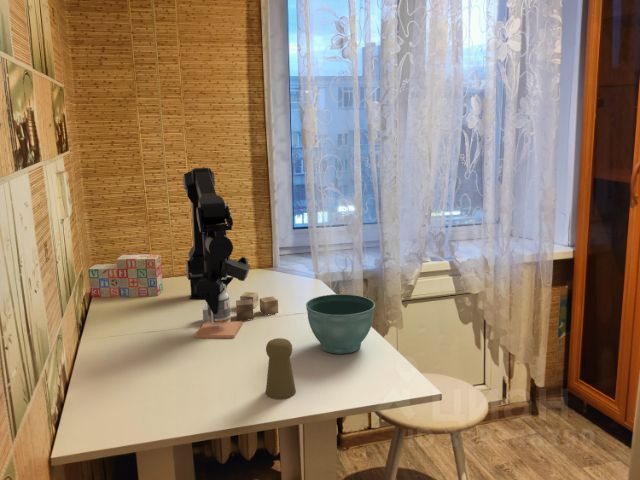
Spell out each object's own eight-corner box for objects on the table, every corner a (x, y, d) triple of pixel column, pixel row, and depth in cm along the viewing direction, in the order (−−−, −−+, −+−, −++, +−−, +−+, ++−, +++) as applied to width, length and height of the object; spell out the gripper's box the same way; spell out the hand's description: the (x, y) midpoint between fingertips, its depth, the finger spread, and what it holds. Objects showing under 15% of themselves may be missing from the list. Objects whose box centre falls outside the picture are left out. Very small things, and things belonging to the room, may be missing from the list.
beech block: (240, 309, 170) (240, 296, 169) (245, 305, 174) (245, 292, 173) (253, 310, 169) (253, 296, 168) (258, 305, 173) (257, 292, 172)
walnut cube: (237, 321, 160) (236, 305, 159) (236, 315, 164) (235, 300, 164) (253, 319, 161) (253, 304, 160) (252, 314, 165) (252, 299, 164)
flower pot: (339, 330, 152) (339, 289, 149) (388, 346, 140) (389, 302, 138) (293, 347, 141) (291, 304, 138) (342, 366, 129) (341, 320, 127)
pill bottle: (234, 320, 154) (232, 283, 152) (224, 327, 149) (221, 290, 147) (215, 318, 156) (212, 282, 154) (204, 325, 151) (201, 288, 149)
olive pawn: (265, 386, 121) (263, 335, 118) (295, 384, 121) (293, 334, 119) (265, 400, 115) (263, 347, 112) (296, 398, 115) (294, 345, 113)
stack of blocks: (90, 297, 185) (86, 259, 182) (98, 291, 191) (94, 255, 188) (158, 296, 184) (155, 258, 182) (163, 290, 191) (160, 253, 188)
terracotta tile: (195, 337, 148) (195, 334, 148) (206, 324, 158) (205, 321, 158) (234, 338, 148) (234, 335, 147) (242, 324, 157) (242, 321, 157)
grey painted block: (203, 324, 158) (202, 309, 158) (206, 319, 162) (205, 305, 162) (218, 323, 159) (217, 309, 158) (220, 318, 162) (219, 304, 162)
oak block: (265, 315, 164) (264, 302, 163) (260, 311, 168) (259, 298, 167) (278, 313, 166) (277, 300, 165) (273, 309, 169) (272, 296, 168)
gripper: (238, 260, 139) (241, 322, 142) (253, 243, 157) (256, 298, 160) (192, 260, 140) (196, 322, 143) (212, 243, 158) (215, 298, 161)
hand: (218, 309), depth 152 cm, fingers closed on pill bottle, 6 cm apart
